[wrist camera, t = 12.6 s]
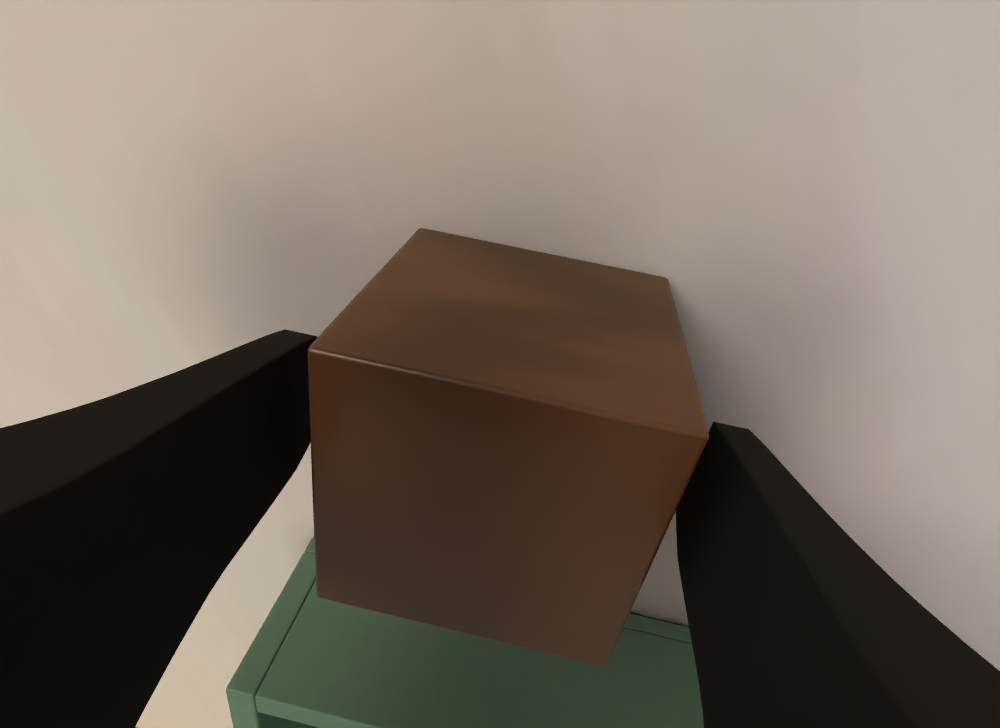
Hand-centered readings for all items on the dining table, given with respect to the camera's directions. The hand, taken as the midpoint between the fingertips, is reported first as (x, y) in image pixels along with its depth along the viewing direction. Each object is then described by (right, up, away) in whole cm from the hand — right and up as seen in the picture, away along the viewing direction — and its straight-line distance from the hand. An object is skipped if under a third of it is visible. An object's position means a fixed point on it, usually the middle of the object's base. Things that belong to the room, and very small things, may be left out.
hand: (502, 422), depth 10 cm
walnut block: (0, +1, +2) cm, 2 cm away
